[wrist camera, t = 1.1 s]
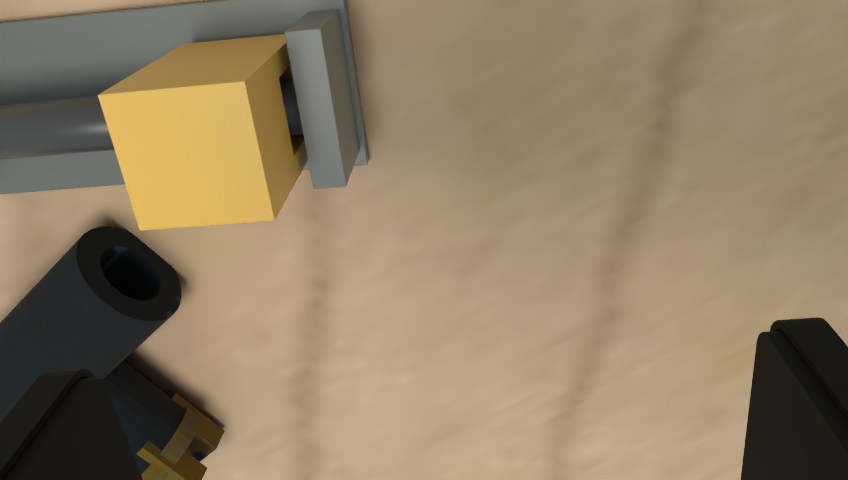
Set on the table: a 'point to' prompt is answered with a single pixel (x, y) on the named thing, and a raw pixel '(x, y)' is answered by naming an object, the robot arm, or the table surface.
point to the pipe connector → (108, 346)
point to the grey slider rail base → (145, 43)
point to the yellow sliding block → (206, 134)
